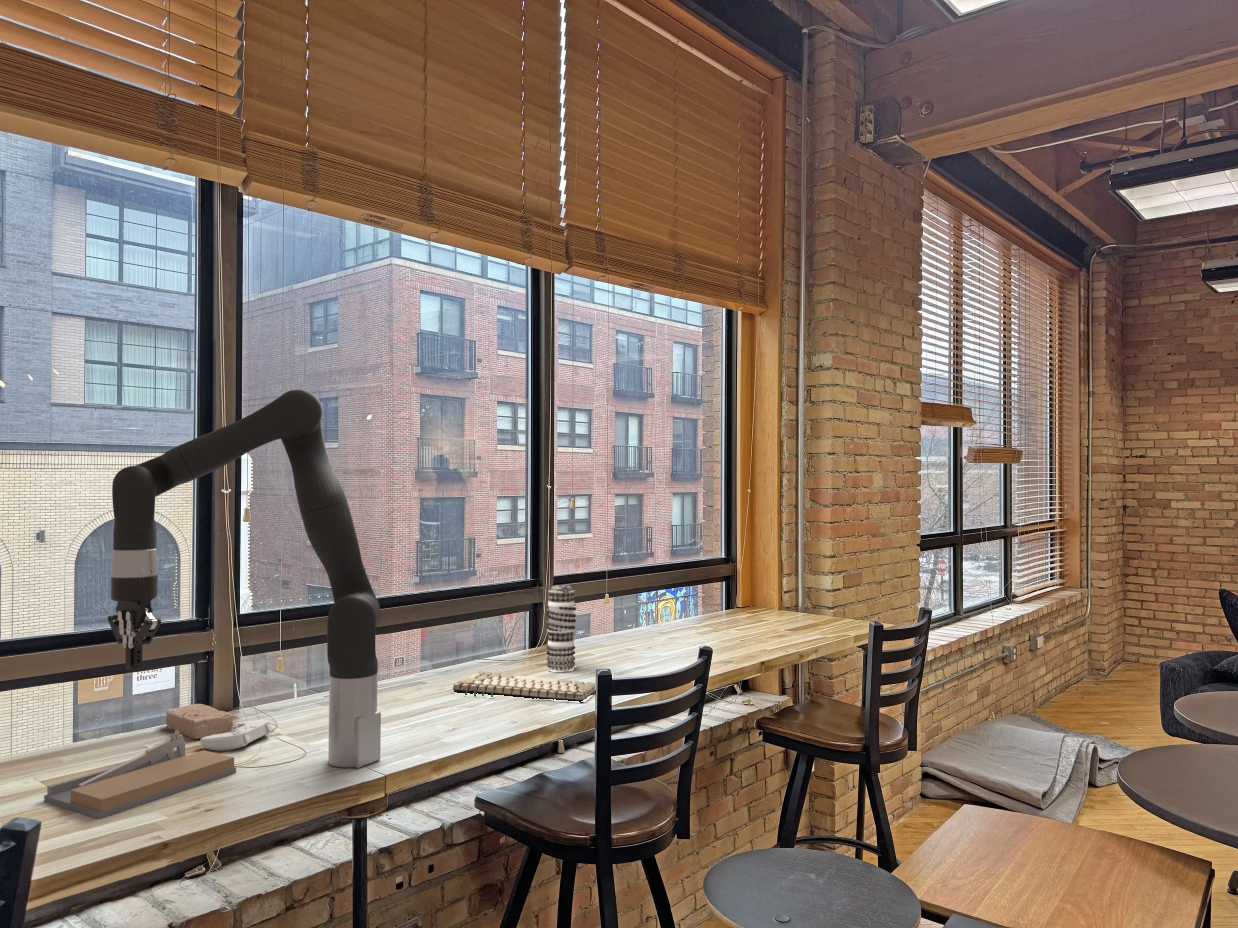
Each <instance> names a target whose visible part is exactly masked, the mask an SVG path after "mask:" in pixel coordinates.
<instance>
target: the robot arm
mask: <svg viewBox="0 0 1238 928" xmlns="http://www.w3.org/2000/svg"><path fill="white" fill-rule="evenodd" d="M322 419H323V406H322V403H321V401H320V400H319V398H318V397H317V396H316V395H315V394H314V393H312V392H310V391H307V390H304V389H291V390H288V391H286V392H284V393H282V394H281V395H280V396H279V397H277V398H275V399H273V400H272V401H271V402H270V403H268V404H266V405H264V406H263V407H261V408H259V409H258V410H256V411H254V412H253V413H251V414H249V415H247V416H245V417H242V418H241V419H239V420H236V421H234V422H232V423H229V424H227V425H225V426H222V427H220V428H218V429H216V430H213V431H210V432H208V433H206V434H203V435H201V436H198V437H196V438H193V439H191V440H188V441H187V442H183V443H182V444H179V445H177V446H175V447H173V448H171V449H168V450H167V451H165V452H164V453H163V454H161V455H159V456H156V457H154V458H151V459H149V460H146V461H144V462H141V463H139V464H135V465H129V466H126V467H123V468H121V469H120V470H119V471H118V472H117V473H116V474H115V476H114V477H113V480H112V485H111V490H112V492H111V494H112V495H111V497H112V498H111V499H112V511H113V517H114V519H113V520H114V522H113V523H114V524H113V533H112V534H113V536H112V537H113V539H112V542H113V543H112V547H113V548H112V549H113V550H112V556H111V561H110V562H111V564H110V567H111V569H110V570H111V571H110V599H111V601H113V602H117V603H116V606H115V611H116V612H115V613H114V614H111V615H108V616H107V621H108V624H109V626H110V628H111V631H112V632H113V636H114V637H115V640H116V642H117V644H121V645H122V647H123V648H124V651H125V654H124V655H125V658H124V660H125V661H124V663H125V669H131V670H135V669H140V668H141V667H142V665H143V648H144V647H145V646H146V645H149V644H151V642H152V641H153V639H154V637H155V636H156V633H157V631H158V630H159V628H160V626H161V624H162V619H161V618H160V617H157V618H155V617H154V615H153V612H154V611H153V605H152V601H153V600H154V599H156V598H157V597H158V589H159V588H158V585H159V583H158V578H159V575H158V573H159V567H158V566H159V560H158V559H159V558H158V554H157V553H158V551H157V524H156V519H155V512H156V511H155V509H156V508H155V507H156V497H158V496H160V495H163V494H164V493H166V492H168V491H170V490H172V489H174V488H176V487H178V486H180V485H184V484H187V483H189V482H192V481H195V480H197V479H199V478H201V477H204V476H206V475H208V474H211V473H212V472H215V471H216V470H219V469H221V468H223V467H224V466H227V465H228V464H230V463H232V462H234V461H235V460H237V459H239V458H240V457H242V456H244V455H246V454H247V453H249V452H251V451H253V450H256V449H258V448H259V447H262V446H263V445H264V446H265V445H266V444H268V443H272V442H275V441H277V440H278V441H279V440H281V442H282V445H283V447H284V450H285V452H286V454H287V458H288V460H289V463H290V466H291V471H292V477H293V478H292V479H293V483H294V489H295V494H296V495H295V496H296V501H297V504H298V509H299V513H300V516H301V520H302V523H303V526H304V530H305V532H306V536H307V538H308V541H309V542H310V544H311V547H312V549H313V550H314V553H315V554H316V556H317V558H318V559H319V561H320V562H321V565H322V566H323V568H324V570H325V572H326V575H327V577H328V582H329V584H330V588H331V594H332V597H333V598H332V599H333V604H332V606H331V607H330V609H329V612H328V615H327V624H326V626H327V627H326V635H327V636H326V643H327V644H326V653H327V655H326V656H327V662H328V666H329V667H328V668H329V684H328V686H329V690H328V691H329V692H328V693H329V695H328V698H329V701H328V751H327V752H328V755H327V757H328V760H327V762H328V764H329V765H330V766H333V767H336V768H357V769H359V768H361V767H365V766H367V765H369V764H372V763H375V762H376V761H380V760H381V750H382V749H381V747H382V746H381V743H382V742H381V741H382V740H381V737H382V736H381V735H382V733H381V732H382V731H381V730H382V713H381V712H380V711H378V685H379V683H378V681H379V680H378V678H379V677H378V675H379V674H378V672H379V671H378V669H379V662H378V657H377V652H376V651H377V650H376V630H377V629H376V628H377V626H378V625H379V622H380V620H381V606H380V604H379V601H378V599H377V596H376V594H375V592H374V589H373V588H372V585H371V582H370V579H369V578H368V574H367V572H366V570H365V566H364V564H363V563H364V562H363V559H362V556H361V555H362V554H361V549H360V546H359V540H358V537H357V532H356V529H355V528H356V527H355V525H354V519H353V516H352V512H351V510H350V505H349V503H348V500H347V496H346V494H345V491H344V489H343V486H342V484H341V482H340V479H339V478H338V476H337V474H336V472H335V470H334V468H333V466H332V464H331V461H330V459H329V456H328V453H327V450H326V446H325V445H326V444H325V440H324V435H323V429H322V423H321V422H322Z"/></svg>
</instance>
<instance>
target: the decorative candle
mask: <svg viewBox="0 0 1238 928" xmlns="http://www.w3.org/2000/svg"><path fill="white" fill-rule="evenodd" d="M547 592H548V601H547V608H545V610H546V611H545V612H546V614H545V616H546V617H547V620H546V624H547V625H546V631H547V632H548V634H547V636H548V640H547V646H546V650H547V651H546V655H548V656H547V657H546V658H545V659H546V667H548V668H549V669H551V670H556V671H569V670H571V669H573V667H574V668H575V666H576V662H575V661H576V657H575V656H574V655H575V654H576V652H575V651H576V650H575V649H576V646H575V639H574V637H575V635H574V634H575V631H576V626H575V625H574V623H576V621H577V619H575V618H576V617H577V614H576V613H574V612H576V610H577V607H576V606H577V604H576V603H575V598H574V597H575V590H574V589H573V588H572V586H571V585H567V584H556V585H552V586H551V588H550V589H549V590H548V591H547Z"/></svg>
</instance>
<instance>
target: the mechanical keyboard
mask: <svg viewBox="0 0 1238 928" xmlns="http://www.w3.org/2000/svg"><path fill="white" fill-rule="evenodd" d="M596 683H597V682H589V681H588V682H586V683H585V682H584V681H579V680H578V681H577V680H574V681H573V682H572V680H565V679H561V680H559V679H557V678H550V677H549V678H547V677H539V676H538V677H537V676H527V675H526V676H523V675H515V676H513V675H508V674H503V675H501V672H494V673H493V672H492V671H486V672H485V671H482V670H479V671H478V672H477V673H474V674H472V675H470V676H469V677H467V678H465V679H462V680H458V681H457V682H455V683H453V686H452V690H453V691H454V692H457V693H465V695H467V693H470V694H473V693H474V696H476V694H477V693H478V694H482V696H484V694H488V695H491V697H493V695H504V696H513V697H524V698H532V699H534V698H536V699H537V698H539V699H553V700H554V699H556V700H568V701H579V702H581V701H583V700H584V699H586V698H587V697H588V696H590V695H594V694H595V693H596V692H595V685H596ZM594 692H595V693H594Z"/></svg>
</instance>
